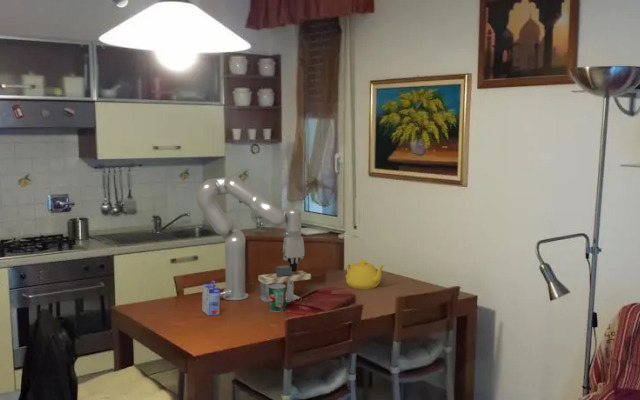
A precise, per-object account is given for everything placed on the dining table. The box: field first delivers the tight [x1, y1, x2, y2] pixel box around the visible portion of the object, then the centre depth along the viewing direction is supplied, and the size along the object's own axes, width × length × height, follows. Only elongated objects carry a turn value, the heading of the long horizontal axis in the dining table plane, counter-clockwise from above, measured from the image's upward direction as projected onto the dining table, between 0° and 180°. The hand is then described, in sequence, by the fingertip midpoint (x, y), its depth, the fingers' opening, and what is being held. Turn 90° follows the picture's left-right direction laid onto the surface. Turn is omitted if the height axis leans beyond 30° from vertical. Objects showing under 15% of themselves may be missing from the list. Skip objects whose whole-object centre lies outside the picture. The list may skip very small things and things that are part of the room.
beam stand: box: [260, 280, 301, 303], centre depth 317 cm, size 16×16×10 cm
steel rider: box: [275, 264, 292, 277], centre depth 318 cm, size 6×5×5 cm
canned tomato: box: [268, 283, 287, 313], centre depth 298 cm, size 8×8×11 cm
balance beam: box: [257, 270, 312, 285], centre depth 318 cm, size 24×9×3 cm, turn 119°
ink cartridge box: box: [201, 279, 221, 317], centre depth 292 cm, size 10×6×14 cm, turn 27°
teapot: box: [345, 259, 385, 290], centre depth 344 cm, size 25×18×14 cm
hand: (293, 271), depth 320 cm, fingers closed
